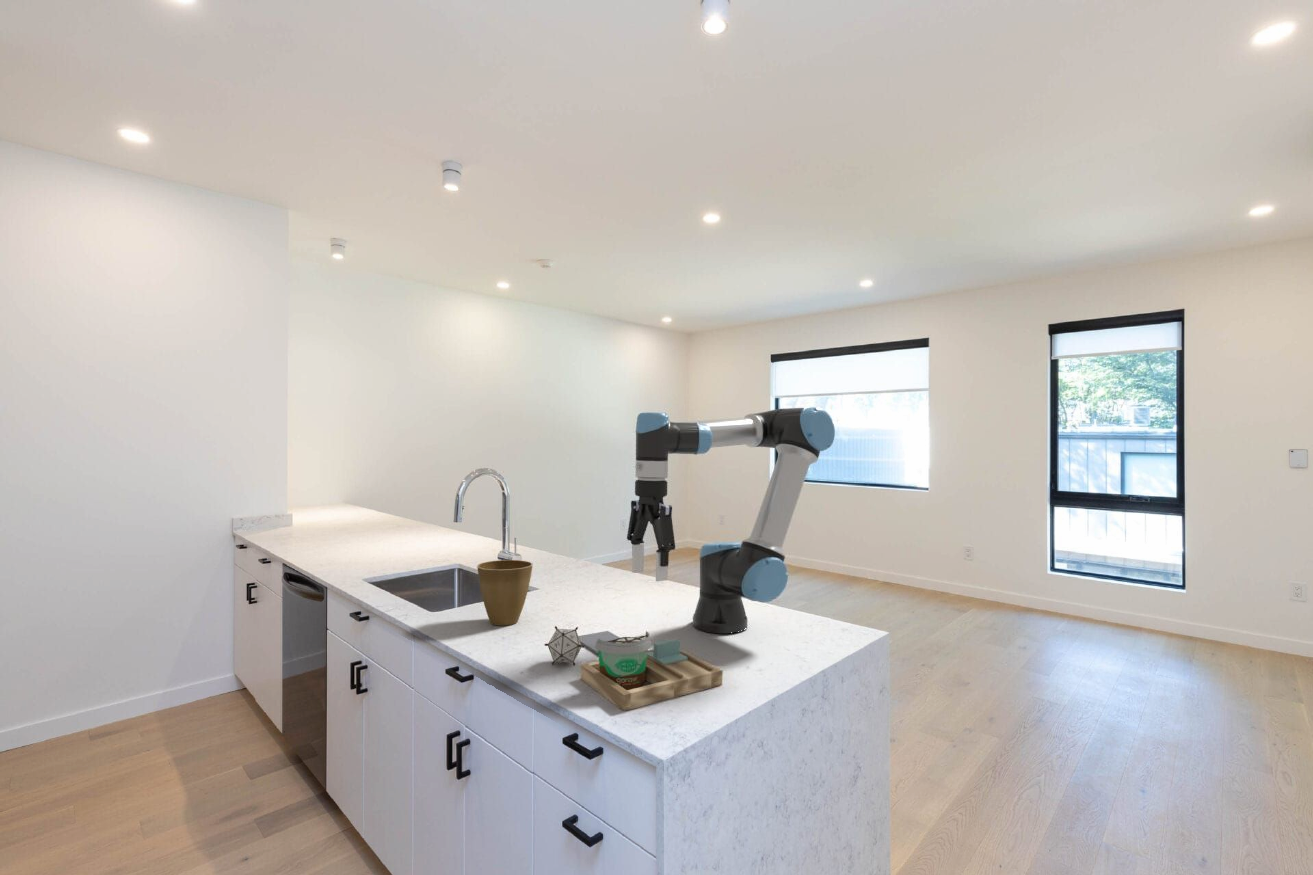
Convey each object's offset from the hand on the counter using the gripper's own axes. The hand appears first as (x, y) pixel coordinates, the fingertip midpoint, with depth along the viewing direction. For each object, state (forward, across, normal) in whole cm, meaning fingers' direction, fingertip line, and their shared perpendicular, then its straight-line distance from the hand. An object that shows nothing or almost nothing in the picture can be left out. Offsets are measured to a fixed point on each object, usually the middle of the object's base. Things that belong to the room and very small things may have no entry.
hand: (649, 576), depth 139 cm
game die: (+20, -8, -17) cm, 27 cm away
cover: (+16, +7, 0) cm, 18 cm away
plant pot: (+20, -45, -18) cm, 53 cm away
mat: (+20, -14, -3) cm, 25 cm away
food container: (+20, +11, -12) cm, 25 cm away
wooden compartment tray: (+20, +10, -6) cm, 23 cm away
